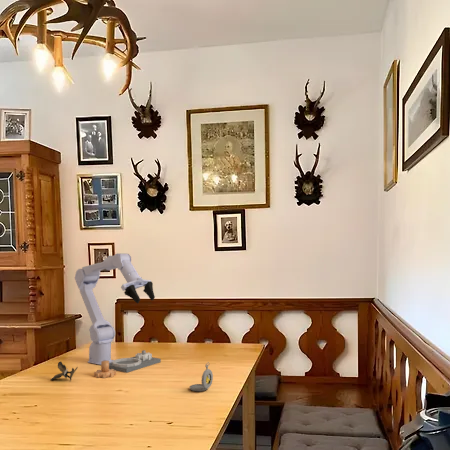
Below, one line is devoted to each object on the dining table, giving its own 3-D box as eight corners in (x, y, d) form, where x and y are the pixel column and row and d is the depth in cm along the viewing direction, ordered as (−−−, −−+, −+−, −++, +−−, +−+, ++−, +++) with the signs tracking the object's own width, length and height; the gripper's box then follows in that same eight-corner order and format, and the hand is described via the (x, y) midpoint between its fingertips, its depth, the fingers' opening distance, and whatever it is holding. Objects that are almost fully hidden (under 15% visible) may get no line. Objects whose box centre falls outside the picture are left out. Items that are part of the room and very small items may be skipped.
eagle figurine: (79, 373, 182) (59, 368, 184) (76, 361, 178) (56, 355, 180) (68, 389, 176) (48, 383, 178) (65, 376, 172) (44, 370, 174)
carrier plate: (104, 368, 195) (104, 356, 195) (139, 358, 213) (139, 347, 213) (126, 372, 188) (126, 360, 188) (160, 362, 206) (160, 350, 206)
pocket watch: (189, 387, 168) (189, 359, 169) (212, 386, 169) (212, 358, 169) (189, 393, 160) (189, 364, 161) (213, 393, 161) (213, 364, 161)
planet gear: (89, 376, 183) (89, 362, 183) (105, 371, 190) (105, 357, 190) (104, 379, 178) (104, 364, 179) (120, 374, 185) (120, 360, 186)
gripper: (120, 271, 189) (136, 296, 182) (148, 267, 200) (163, 291, 193) (114, 282, 192) (128, 307, 186) (141, 278, 203) (156, 302, 197)
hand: (146, 300), depth 190 cm, fingers open, 7 cm apart
